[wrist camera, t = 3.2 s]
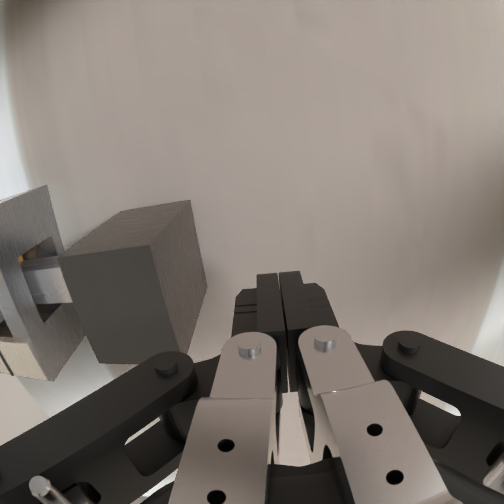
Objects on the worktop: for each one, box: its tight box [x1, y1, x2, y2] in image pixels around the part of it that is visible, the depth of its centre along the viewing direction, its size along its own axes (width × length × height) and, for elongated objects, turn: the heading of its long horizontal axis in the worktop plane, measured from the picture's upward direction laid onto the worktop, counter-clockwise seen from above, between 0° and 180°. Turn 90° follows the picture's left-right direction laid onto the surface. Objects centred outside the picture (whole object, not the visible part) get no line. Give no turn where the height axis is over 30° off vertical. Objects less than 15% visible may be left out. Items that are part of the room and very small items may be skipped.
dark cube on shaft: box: [0, 200, 207, 364], centre depth 14 cm, size 12×5×8 cm, turn 97°
